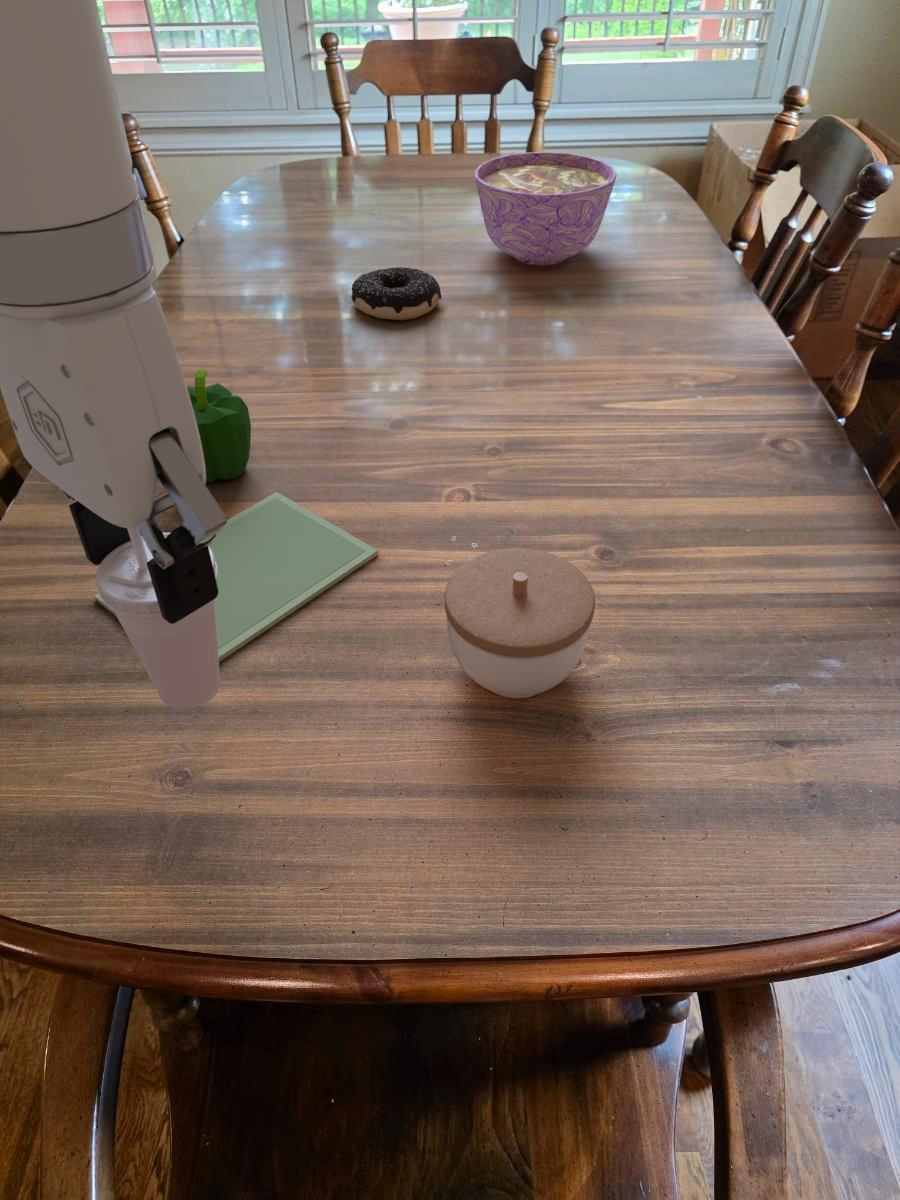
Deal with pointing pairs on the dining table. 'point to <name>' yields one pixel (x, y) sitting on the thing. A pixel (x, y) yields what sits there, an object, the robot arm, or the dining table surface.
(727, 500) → the dining table surface
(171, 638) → the smoothie
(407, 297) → the donut
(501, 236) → the bowl of food
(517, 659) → the trinket box
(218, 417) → the bell pepper
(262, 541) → the placemat
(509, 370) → the dining table surface
